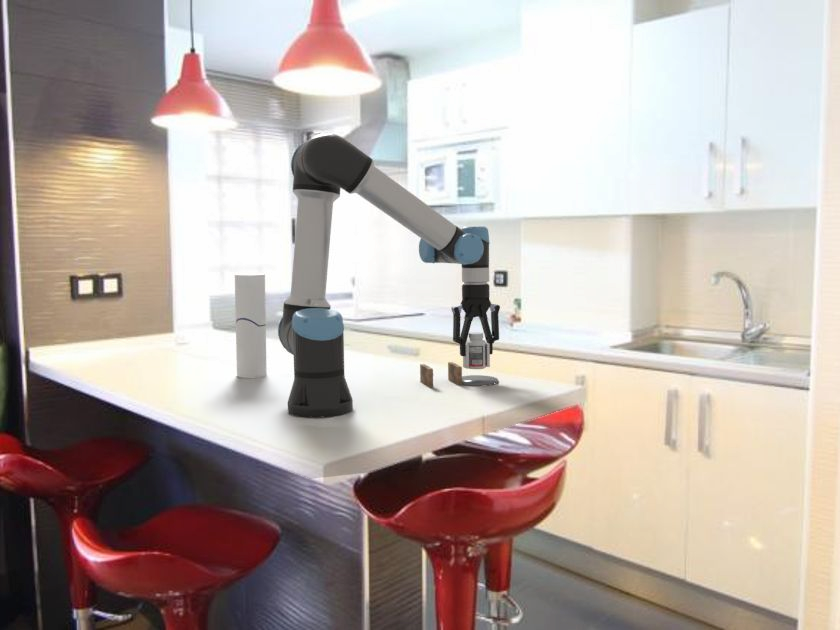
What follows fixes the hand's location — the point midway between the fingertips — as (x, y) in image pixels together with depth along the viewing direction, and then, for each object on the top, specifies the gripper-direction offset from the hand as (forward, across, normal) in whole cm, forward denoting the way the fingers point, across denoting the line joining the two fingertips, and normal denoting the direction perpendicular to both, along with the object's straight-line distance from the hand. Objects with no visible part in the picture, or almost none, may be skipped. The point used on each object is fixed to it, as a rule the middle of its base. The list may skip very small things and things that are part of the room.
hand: (476, 366), depth 194 cm
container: (+4, +59, -32) cm, 67 cm away
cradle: (+4, +10, -1) cm, 11 cm away
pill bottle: (+1, 0, 0) cm, 1 cm away
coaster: (+4, 0, 0) cm, 4 cm away
